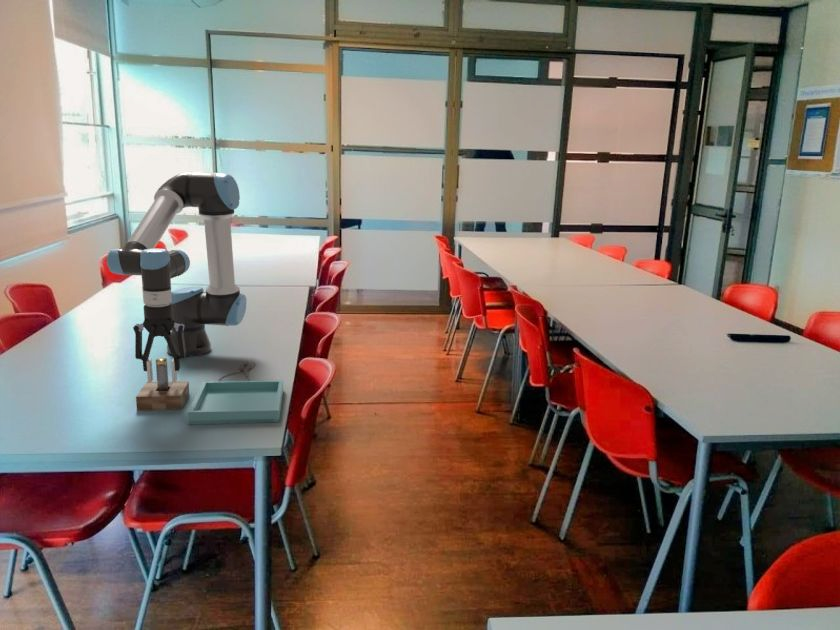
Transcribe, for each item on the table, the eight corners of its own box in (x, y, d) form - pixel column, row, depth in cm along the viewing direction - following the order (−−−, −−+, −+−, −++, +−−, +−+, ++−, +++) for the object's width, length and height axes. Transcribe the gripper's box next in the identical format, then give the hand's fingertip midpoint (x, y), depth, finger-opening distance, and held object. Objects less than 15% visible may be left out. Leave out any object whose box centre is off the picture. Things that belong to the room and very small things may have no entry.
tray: (203, 392, 197) (202, 381, 196) (283, 390, 201) (283, 380, 200) (188, 424, 174) (187, 412, 174) (278, 422, 178) (278, 410, 177)
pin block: (147, 394, 194) (146, 382, 193) (189, 393, 196) (188, 381, 195) (136, 410, 182) (135, 396, 181) (181, 409, 184) (180, 395, 183)
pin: (159, 399, 190) (157, 358, 187) (170, 399, 191) (167, 357, 188) (157, 403, 187) (154, 361, 184) (168, 403, 188) (165, 361, 185)
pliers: (216, 382, 205) (227, 362, 224) (216, 385, 205) (227, 364, 224) (247, 382, 206) (255, 362, 225) (247, 385, 206) (255, 364, 225)
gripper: (118, 307, 177) (124, 386, 182) (190, 307, 180) (194, 385, 185) (125, 300, 184) (131, 377, 190) (195, 301, 187) (199, 376, 193)
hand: (162, 381), depth 187 cm, fingers open, 6 cm apart
